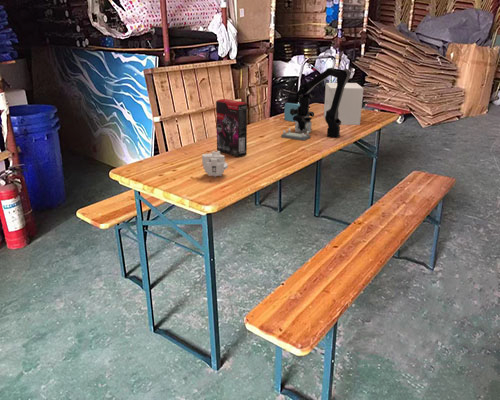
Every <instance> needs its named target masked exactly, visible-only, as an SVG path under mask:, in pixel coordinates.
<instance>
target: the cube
mask: <svg viewBox="0 0 500 400" xmlns="http://www.w3.org/2000/svg"><path fill="white" fill-rule="evenodd" d="M336 88H337V82H325V92H324V108H323V118H324V119H325V118H326V117H325V116H326V111H327V110H329V109H331V106H332V102H333V99H334V95H335V91H336ZM364 90H365V89H364V87H362V86H361V85H360V84H358V83H357V82H347V83H346V85H345V87H344V90H343V94H342V97H341V101H340V104H339V108H338V113H339V114H338V118H339V120H340V121H341V124H340V125H339V126H344V125H345V126H360V125H361V118H362V107H363V97H364Z"/></svg>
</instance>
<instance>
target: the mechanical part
mask: <svg viewBox="0 0 500 400" xmlns="http://www.w3.org/2000/svg"><path fill="white" fill-rule="evenodd" d="M201 156H202V157H201V160H202V166H203V169H204V173H207V176H209V177H213V178H214V179H215V178H217V177H219V176H220V177H223V174H224V173H225V170H227V169H228V167H229V165H228V163H227V162H226V161H225V160H226V159H225V157H226V156H225V155H223V154H221V152H220V151H217V150H216V151H214V150H212V151H211V152H210V153H203V154H201Z"/></svg>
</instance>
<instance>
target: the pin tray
mask: <svg viewBox="0 0 500 400" xmlns="http://www.w3.org/2000/svg"><path fill="white" fill-rule="evenodd" d="M282 133H283V134H281V135H280V138H281V139H282V138H283V139H289V140H290V139H291V140H295V141H296V140H297V141H301V142H304V141H306V140H308V139H310V138H311V137H312V136H311V134H310V133H309V131H307V134H305V133H298V132H294V131H293V132H292V131H291V128H290V127H289V128H288V131H286V130H285V129H283V132H282Z"/></svg>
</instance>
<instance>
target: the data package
mask: <svg viewBox="0 0 500 400" xmlns="http://www.w3.org/2000/svg"><path fill="white" fill-rule="evenodd" d="M299 106H300V103H298V104H292V103H288V102H285V104H284V112H283V114H284V118H283V119H284V121H286V122H287V121H288V122H293V123H295V121H294V120H293V117H294V116H295V115H297V114H295V115H293V116H292V115H291V114H290V109H298V107H299Z"/></svg>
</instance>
